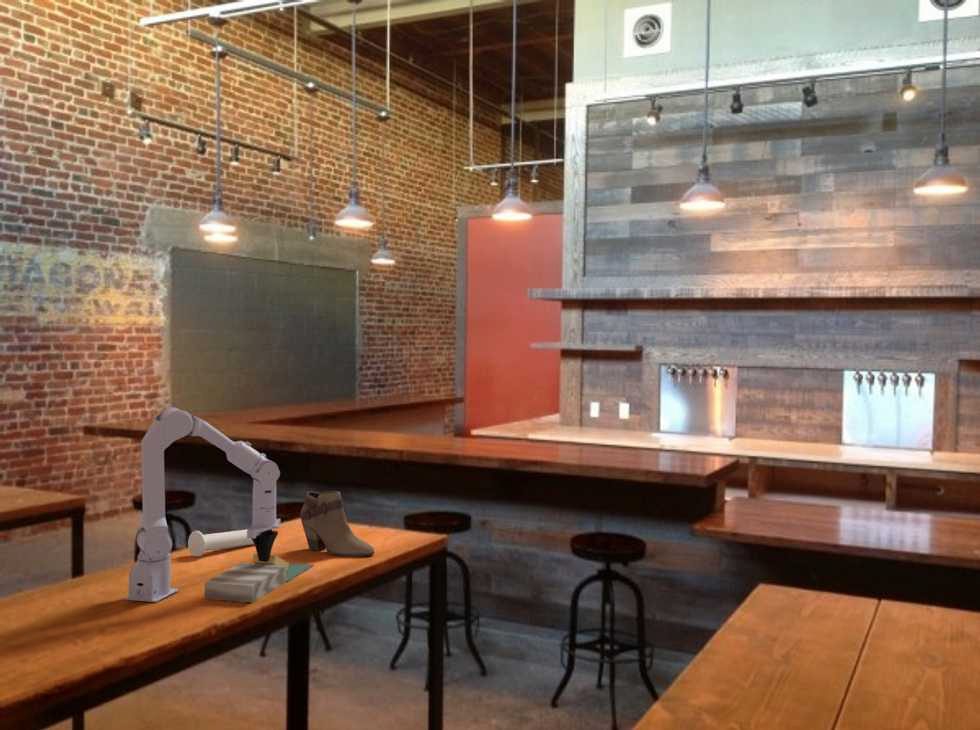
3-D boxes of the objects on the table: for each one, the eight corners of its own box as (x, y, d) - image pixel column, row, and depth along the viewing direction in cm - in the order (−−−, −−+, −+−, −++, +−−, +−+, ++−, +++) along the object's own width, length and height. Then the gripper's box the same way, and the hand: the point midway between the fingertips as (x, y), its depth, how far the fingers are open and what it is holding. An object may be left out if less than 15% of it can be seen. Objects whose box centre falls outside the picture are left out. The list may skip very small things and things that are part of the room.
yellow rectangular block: (274, 563, 217) (275, 555, 218) (252, 561, 218) (253, 554, 219) (287, 570, 225) (289, 563, 226) (266, 569, 226) (267, 561, 227)
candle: (190, 527, 241) (262, 519, 261) (185, 551, 241) (257, 541, 262) (205, 536, 237) (277, 527, 257) (200, 561, 237) (272, 550, 258)
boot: (367, 559, 240) (367, 497, 239) (292, 551, 247) (292, 491, 247) (379, 552, 248) (380, 492, 247) (306, 545, 255) (307, 486, 254)
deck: (252, 603, 199) (252, 585, 199) (204, 599, 201) (204, 582, 201) (286, 581, 216) (286, 565, 216) (241, 578, 219) (241, 562, 219)
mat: (287, 582, 216) (287, 580, 216) (239, 578, 219) (239, 577, 219) (313, 565, 232) (313, 564, 232) (268, 562, 235) (268, 561, 235)
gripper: (266, 513, 209) (265, 569, 210) (291, 502, 223) (291, 554, 224) (239, 511, 211) (238, 567, 211) (266, 501, 225) (265, 553, 225)
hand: (263, 560), depth 217 cm, fingers closed
